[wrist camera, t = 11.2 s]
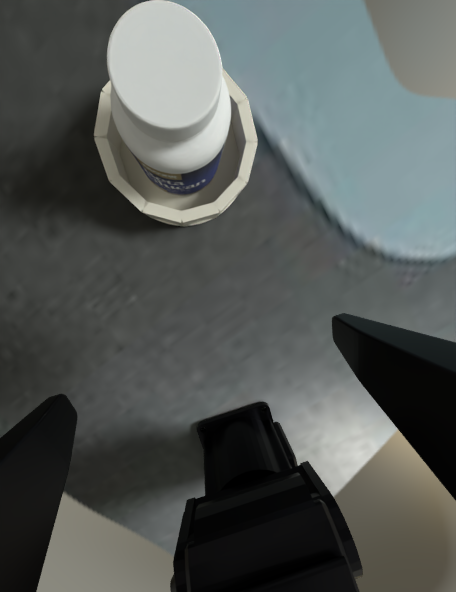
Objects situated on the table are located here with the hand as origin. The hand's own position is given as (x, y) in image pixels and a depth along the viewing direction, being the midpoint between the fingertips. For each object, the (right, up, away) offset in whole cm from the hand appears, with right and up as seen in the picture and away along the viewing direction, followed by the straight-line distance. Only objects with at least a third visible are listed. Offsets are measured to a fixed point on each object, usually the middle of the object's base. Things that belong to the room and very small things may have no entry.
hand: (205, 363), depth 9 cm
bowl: (-3, +12, +11) cm, 16 cm away
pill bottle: (-3, +12, +10) cm, 16 cm away
